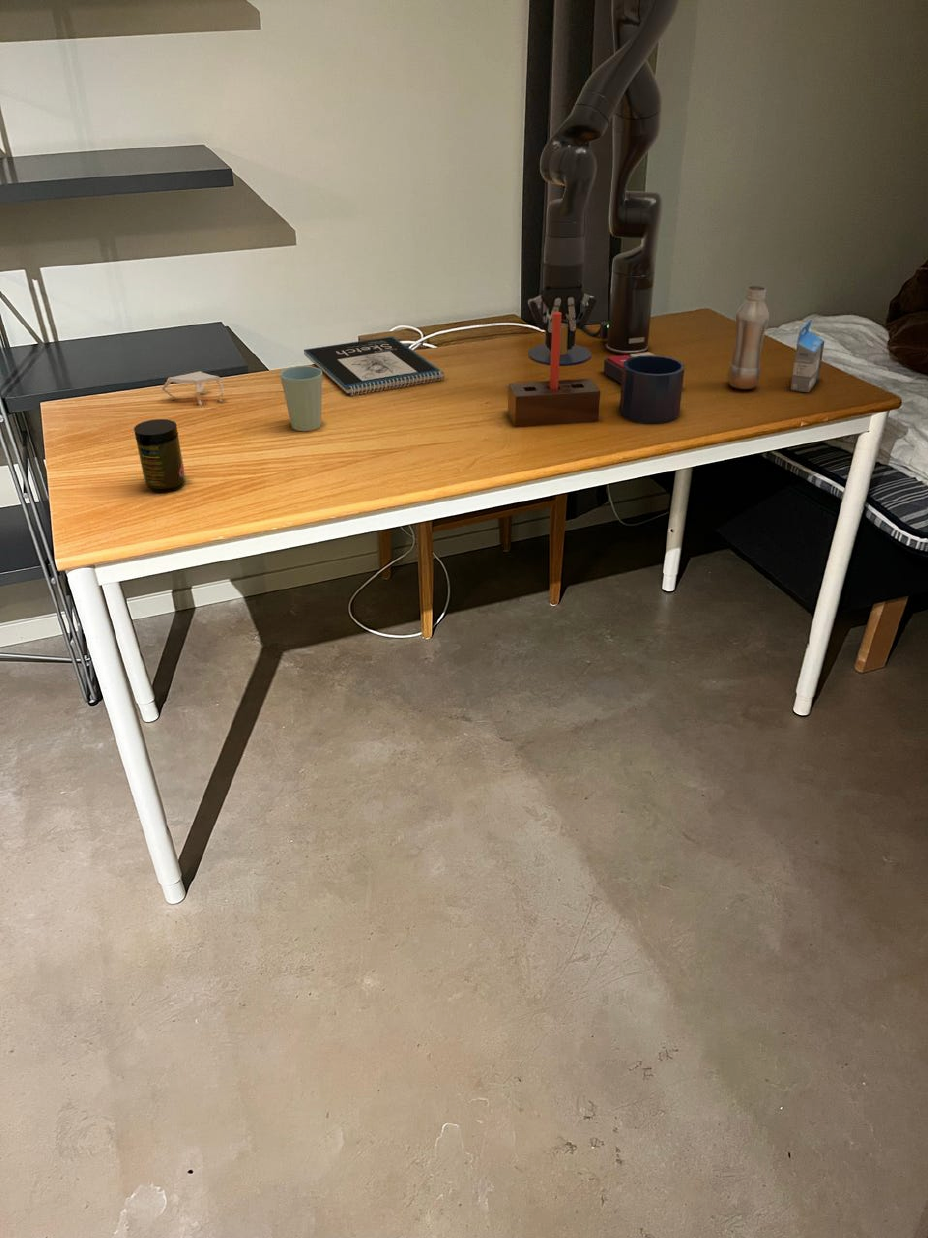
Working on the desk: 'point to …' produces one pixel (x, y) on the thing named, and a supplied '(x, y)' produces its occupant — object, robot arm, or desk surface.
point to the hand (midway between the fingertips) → (559, 348)
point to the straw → (555, 350)
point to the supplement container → (160, 455)
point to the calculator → (618, 365)
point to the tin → (651, 389)
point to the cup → (303, 396)
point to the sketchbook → (372, 365)
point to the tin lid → (561, 352)
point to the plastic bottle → (749, 339)
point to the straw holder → (553, 402)
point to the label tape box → (807, 360)
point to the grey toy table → (195, 379)
